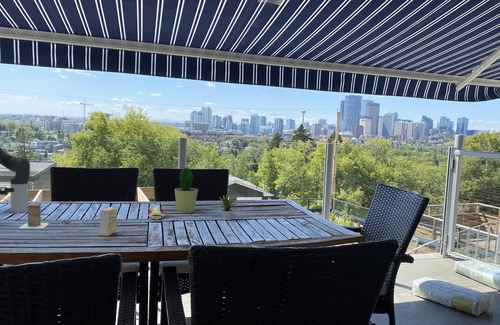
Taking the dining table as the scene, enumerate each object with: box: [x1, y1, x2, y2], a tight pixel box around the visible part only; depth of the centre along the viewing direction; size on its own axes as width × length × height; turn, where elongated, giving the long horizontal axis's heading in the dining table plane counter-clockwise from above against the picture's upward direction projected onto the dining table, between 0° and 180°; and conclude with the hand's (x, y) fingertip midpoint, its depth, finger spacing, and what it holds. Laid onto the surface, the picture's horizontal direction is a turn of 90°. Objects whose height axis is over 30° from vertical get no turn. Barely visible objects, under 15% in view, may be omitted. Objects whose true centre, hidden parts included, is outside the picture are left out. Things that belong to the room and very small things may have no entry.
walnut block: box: [27, 203, 42, 227], centre depth 205 cm, size 5×5×11 cm
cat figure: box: [147, 200, 165, 220], centre depth 241 cm, size 10×9×25 cm
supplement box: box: [99, 206, 118, 237], centre depth 195 cm, size 8×5×13 cm, turn 168°
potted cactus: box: [174, 166, 199, 213], centre depth 257 cm, size 15×15×30 cm
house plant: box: [217, 193, 239, 221], centre depth 236 cm, size 14×14×16 cm
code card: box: [18, 222, 50, 229], centre depth 205 cm, size 11×12×1 cm
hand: (11, 191), depth 201 cm, fingers open, 8 cm apart
